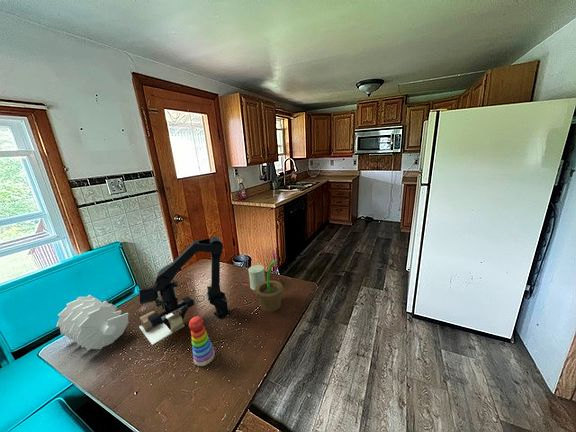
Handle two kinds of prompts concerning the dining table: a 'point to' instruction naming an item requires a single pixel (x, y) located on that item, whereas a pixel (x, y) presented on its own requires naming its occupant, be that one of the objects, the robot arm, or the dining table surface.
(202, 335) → the stacking toy
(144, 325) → the walnut block
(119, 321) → the spiral staircase
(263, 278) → the can
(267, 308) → the flowerpot
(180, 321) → the maple cube
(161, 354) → the dining table surface
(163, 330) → the white board
